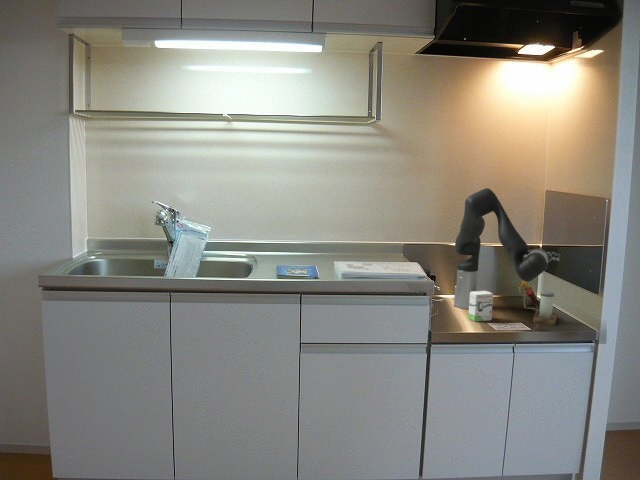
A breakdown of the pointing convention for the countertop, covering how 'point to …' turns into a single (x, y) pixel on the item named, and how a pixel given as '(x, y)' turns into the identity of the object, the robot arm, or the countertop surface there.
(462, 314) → the countertop surface
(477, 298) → the ink box
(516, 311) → the countertop surface
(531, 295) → the slingshot
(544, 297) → the canister
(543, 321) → the tray
